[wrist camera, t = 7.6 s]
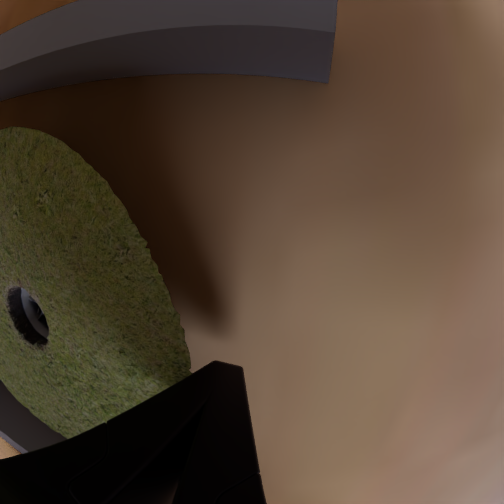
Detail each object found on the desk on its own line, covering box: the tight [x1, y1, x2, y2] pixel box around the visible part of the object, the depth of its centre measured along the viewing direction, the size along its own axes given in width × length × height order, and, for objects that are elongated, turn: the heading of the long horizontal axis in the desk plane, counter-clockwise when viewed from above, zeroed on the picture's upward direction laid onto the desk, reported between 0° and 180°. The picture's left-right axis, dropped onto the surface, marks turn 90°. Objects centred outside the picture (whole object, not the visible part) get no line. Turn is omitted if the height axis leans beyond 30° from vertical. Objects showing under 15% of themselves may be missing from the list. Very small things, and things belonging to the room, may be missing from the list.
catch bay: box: [0, 0, 338, 454], centre depth 8 cm, size 16×16×3 cm
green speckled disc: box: [0, 127, 192, 439], centre depth 8 cm, size 11×11×2 cm
